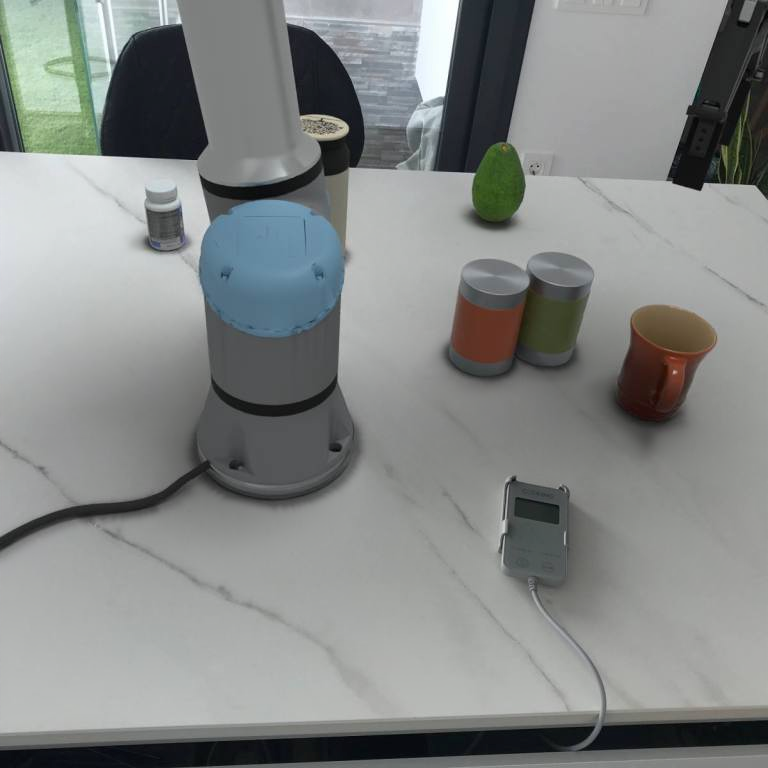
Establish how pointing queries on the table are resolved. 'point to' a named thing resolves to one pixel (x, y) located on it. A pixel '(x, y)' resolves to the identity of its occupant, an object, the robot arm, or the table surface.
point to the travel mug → (332, 165)
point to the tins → (519, 312)
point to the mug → (662, 360)
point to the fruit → (498, 183)
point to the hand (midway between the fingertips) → (702, 163)
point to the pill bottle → (164, 215)
